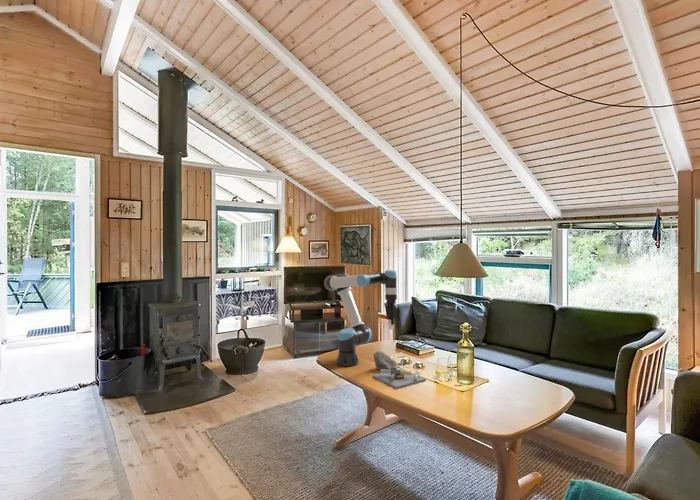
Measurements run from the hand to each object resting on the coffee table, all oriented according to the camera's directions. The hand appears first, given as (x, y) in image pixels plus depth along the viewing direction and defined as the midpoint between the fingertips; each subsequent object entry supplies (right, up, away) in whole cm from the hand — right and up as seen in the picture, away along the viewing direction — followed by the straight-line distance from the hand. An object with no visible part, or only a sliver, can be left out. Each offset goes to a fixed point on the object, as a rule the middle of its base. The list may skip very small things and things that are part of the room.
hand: (391, 329), depth 257 cm
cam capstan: (+1, -25, -20) cm, 32 cm away
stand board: (+2, -26, -20) cm, 33 cm away
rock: (-4, -26, -2) cm, 27 cm away
